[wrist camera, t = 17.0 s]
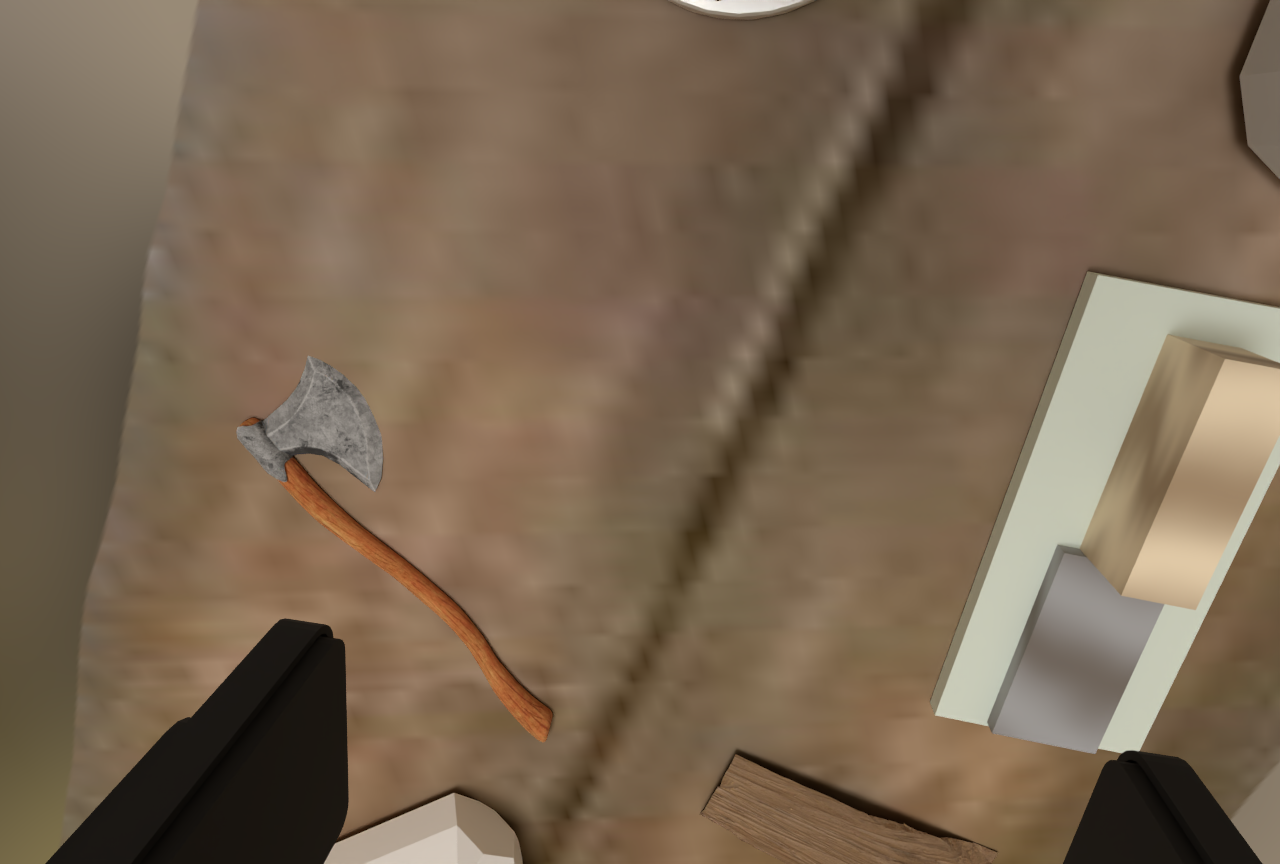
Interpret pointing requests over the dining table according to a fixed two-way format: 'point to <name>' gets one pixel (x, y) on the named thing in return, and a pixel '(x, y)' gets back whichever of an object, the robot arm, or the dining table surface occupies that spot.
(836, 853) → the wood plank
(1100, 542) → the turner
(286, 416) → the axe
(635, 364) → the dining table surface
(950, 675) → the board
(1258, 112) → the jar
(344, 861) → the crystal
